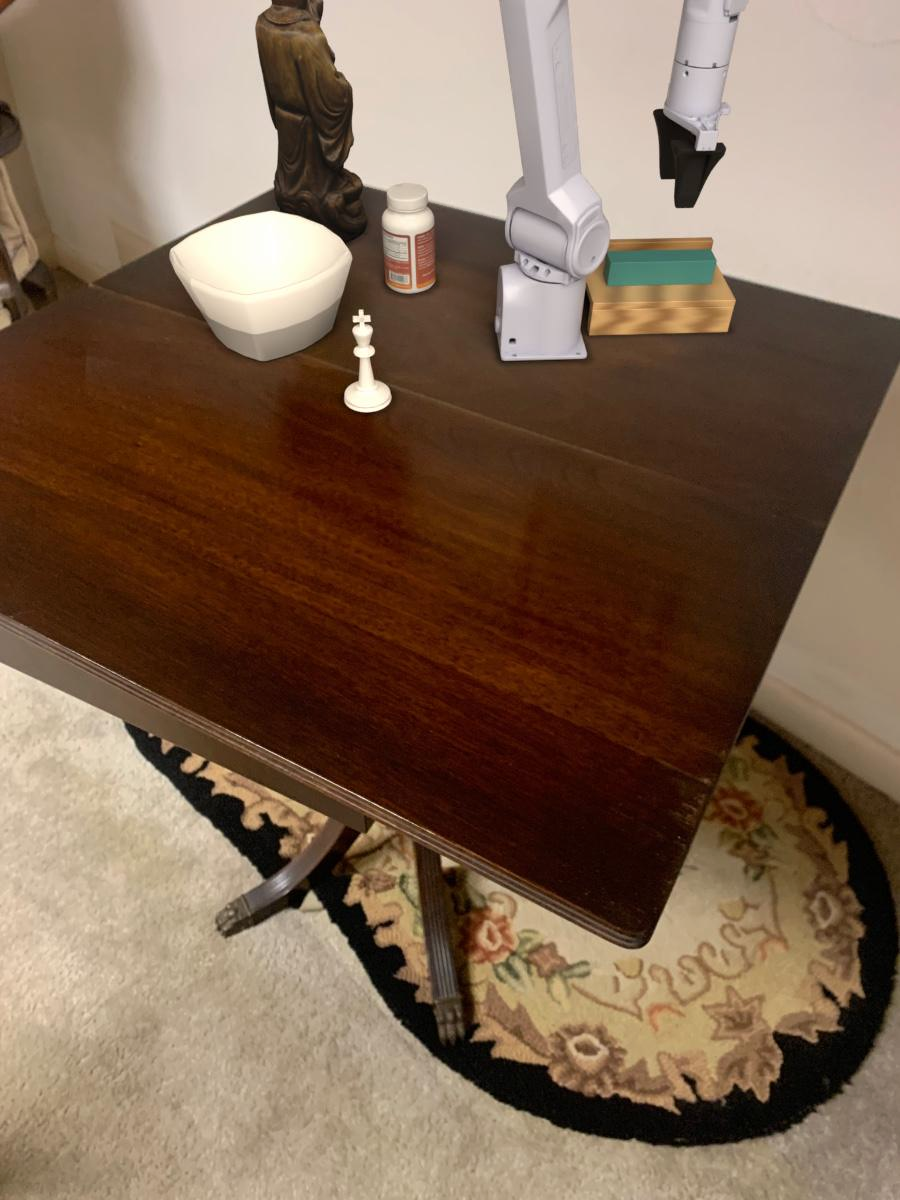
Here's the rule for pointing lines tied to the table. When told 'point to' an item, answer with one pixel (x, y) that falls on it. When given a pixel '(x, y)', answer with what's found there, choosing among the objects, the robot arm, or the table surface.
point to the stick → (659, 267)
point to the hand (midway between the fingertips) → (676, 192)
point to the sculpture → (309, 118)
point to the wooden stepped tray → (658, 298)
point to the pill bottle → (408, 239)
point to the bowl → (265, 281)
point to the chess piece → (365, 373)
